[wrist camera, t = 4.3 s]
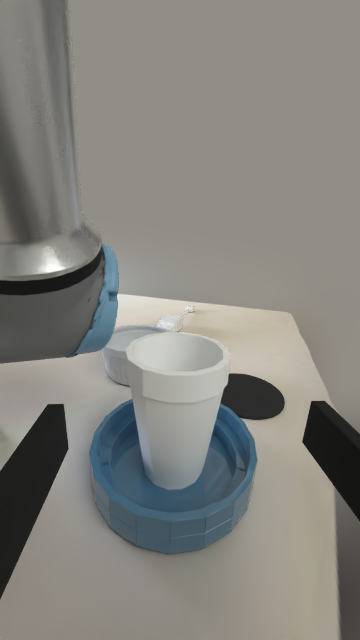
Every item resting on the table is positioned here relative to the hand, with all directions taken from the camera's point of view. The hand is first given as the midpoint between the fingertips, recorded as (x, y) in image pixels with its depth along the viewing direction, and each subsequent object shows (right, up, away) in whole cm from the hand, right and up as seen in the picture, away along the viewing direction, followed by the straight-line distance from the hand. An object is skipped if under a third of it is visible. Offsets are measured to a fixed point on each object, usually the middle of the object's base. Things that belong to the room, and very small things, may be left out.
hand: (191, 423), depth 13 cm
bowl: (-1, -10, +13) cm, 17 cm away
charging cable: (-1, +5, +62) cm, 62 cm away
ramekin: (-8, -4, +32) cm, 33 cm away
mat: (+10, -6, +26) cm, 29 cm away
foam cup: (-1, -10, +13) cm, 16 cm away
